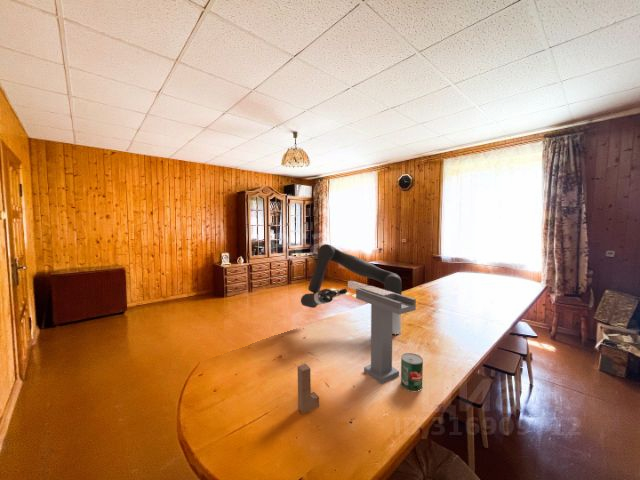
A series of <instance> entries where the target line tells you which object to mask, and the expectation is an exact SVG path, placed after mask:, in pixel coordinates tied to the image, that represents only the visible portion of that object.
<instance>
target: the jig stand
mask: <svg viewBox="0 0 640 480" xmlns="http://www.w3.org/2000/svg"><path fill="white" fill-rule="evenodd" d="M375 287H376V286H375ZM376 288H378V287H376ZM382 289H383V290H384V288H382ZM393 293H394V292H393ZM355 299H357V300H360V301H362V302H364V303H368V304H370V310H371V311H370V312H371V313H370V317H371V318H370V325H371V326H370V364H369V365H365V366H364V367H363V372H364V373H365V374H367V375H368V376H369V377H371V378H373V379H374V380H375V381H377V382H378V383H379V384H380V385H382V384H384V383H386V382H387V383H388V381H390V380H393V379H395V378H397V376H398V377H399V376H400V371H399V370H398V369H396V368H394V367H393V335H392V314H393V313H396V314H398V315H400V314H401V315H403V314H407V313H411V312H414V311H417V309H416V307H417V305H416V304H417V303H416V302H417V300H416V299H417V298H413V297H412V296H411V297H410V296H406V295H403V294H401V295H400V294H397V293H395V299H393V300H392V299H389V298H386V297H383V296H380V295H377V294H374V293H371V292H368V291H365V290H362V289H359V288H357V289H356V290H355Z"/></svg>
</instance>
